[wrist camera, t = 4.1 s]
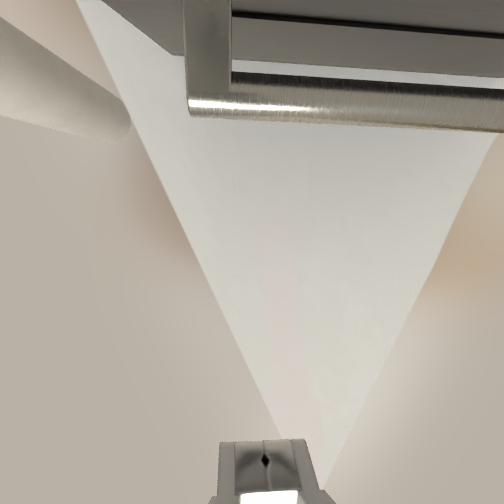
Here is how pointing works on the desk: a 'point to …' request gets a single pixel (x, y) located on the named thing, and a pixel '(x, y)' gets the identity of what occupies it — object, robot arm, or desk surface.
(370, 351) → the desk surface
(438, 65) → the oven door
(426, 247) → the desk surface
